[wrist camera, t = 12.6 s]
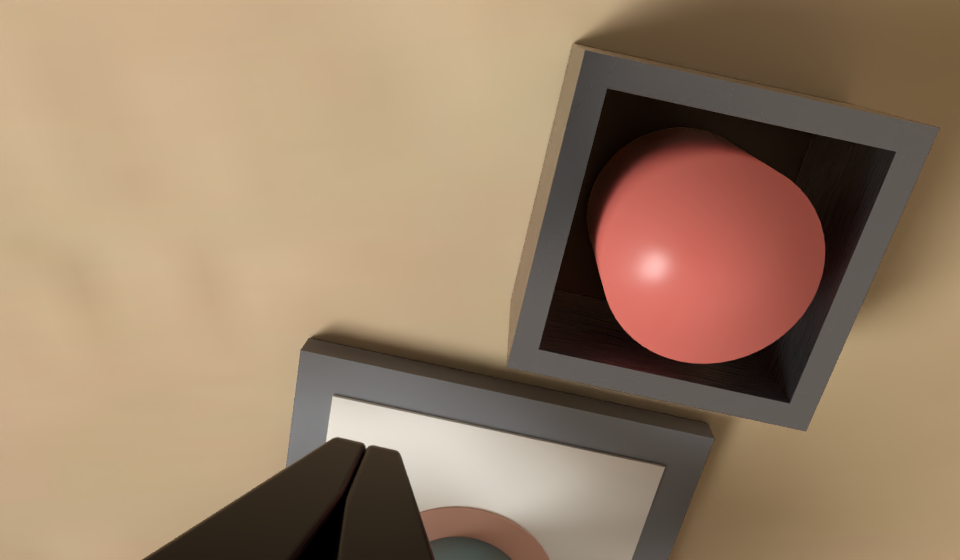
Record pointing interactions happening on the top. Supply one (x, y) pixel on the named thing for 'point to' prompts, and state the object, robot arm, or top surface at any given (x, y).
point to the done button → (702, 246)
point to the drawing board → (508, 454)
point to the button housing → (822, 178)
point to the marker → (465, 549)
